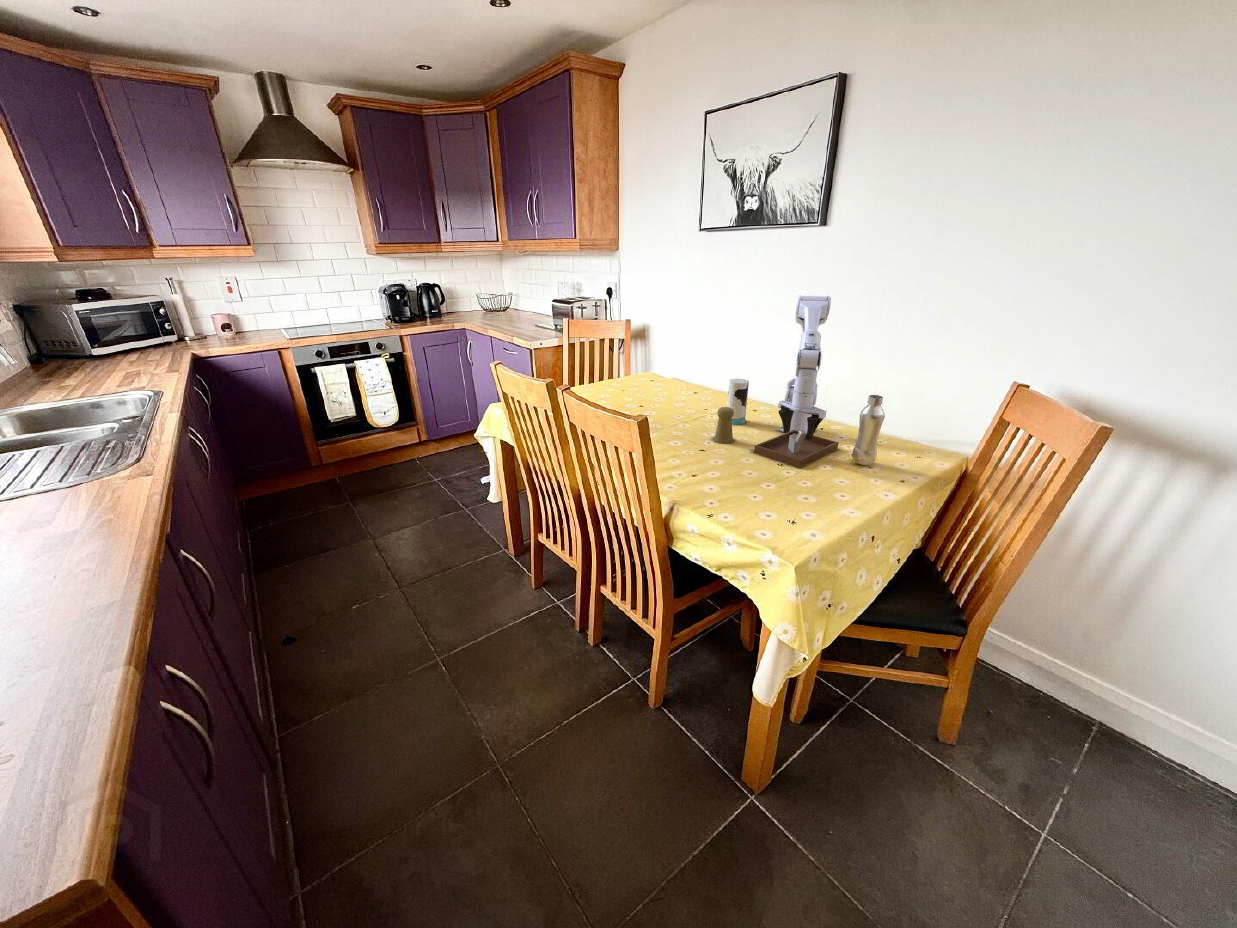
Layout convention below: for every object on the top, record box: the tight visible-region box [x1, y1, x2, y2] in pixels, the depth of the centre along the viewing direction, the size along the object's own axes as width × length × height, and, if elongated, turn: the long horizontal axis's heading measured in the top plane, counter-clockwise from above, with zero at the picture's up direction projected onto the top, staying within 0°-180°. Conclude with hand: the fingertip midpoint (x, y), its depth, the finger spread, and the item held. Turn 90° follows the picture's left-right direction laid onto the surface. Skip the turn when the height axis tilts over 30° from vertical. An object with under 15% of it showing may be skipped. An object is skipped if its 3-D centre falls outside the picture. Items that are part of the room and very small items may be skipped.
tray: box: [753, 430, 839, 469], centre depth 154 cm, size 22×16×2 cm
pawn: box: [713, 406, 734, 444], centre depth 162 cm, size 6×6×11 cm
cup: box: [726, 378, 750, 426], centre depth 178 cm, size 7×7×15 cm
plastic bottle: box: [851, 394, 886, 466], centre depth 141 cm, size 6×7×20 cm
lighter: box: [788, 430, 806, 453], centre depth 151 cm, size 7×2×8 cm, turn 6°
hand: (797, 435), depth 150 cm, fingers open, 7 cm apart
